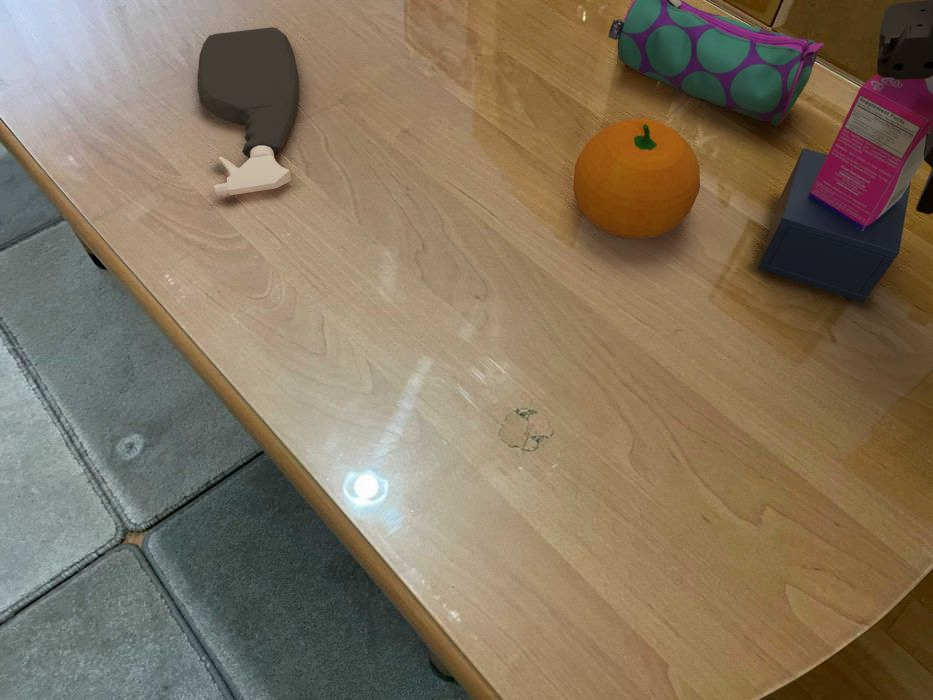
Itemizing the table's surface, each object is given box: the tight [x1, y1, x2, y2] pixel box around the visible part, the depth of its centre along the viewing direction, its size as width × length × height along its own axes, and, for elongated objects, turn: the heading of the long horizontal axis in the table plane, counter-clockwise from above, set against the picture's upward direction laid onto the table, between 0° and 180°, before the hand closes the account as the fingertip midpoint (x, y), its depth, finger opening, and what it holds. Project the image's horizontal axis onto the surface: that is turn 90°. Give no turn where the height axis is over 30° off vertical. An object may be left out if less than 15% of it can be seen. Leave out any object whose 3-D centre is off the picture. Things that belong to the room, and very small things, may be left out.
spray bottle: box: [197, 26, 300, 196], centre depth 80 cm, size 3×11×24 cm
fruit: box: [572, 118, 701, 239], centre depth 70 cm, size 12×12×10 cm
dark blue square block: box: [757, 158, 896, 303], centre depth 68 cm, size 10×10×6 cm
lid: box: [780, 147, 912, 260], centre depth 66 cm, size 10×10×1 cm
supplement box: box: [808, 74, 933, 231], centre depth 61 cm, size 6×6×12 cm
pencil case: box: [607, 0, 825, 127], centre depth 80 cm, size 21×9×10 cm, turn 54°
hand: (928, 174), depth 61 cm, fingers open, 9 cm apart
